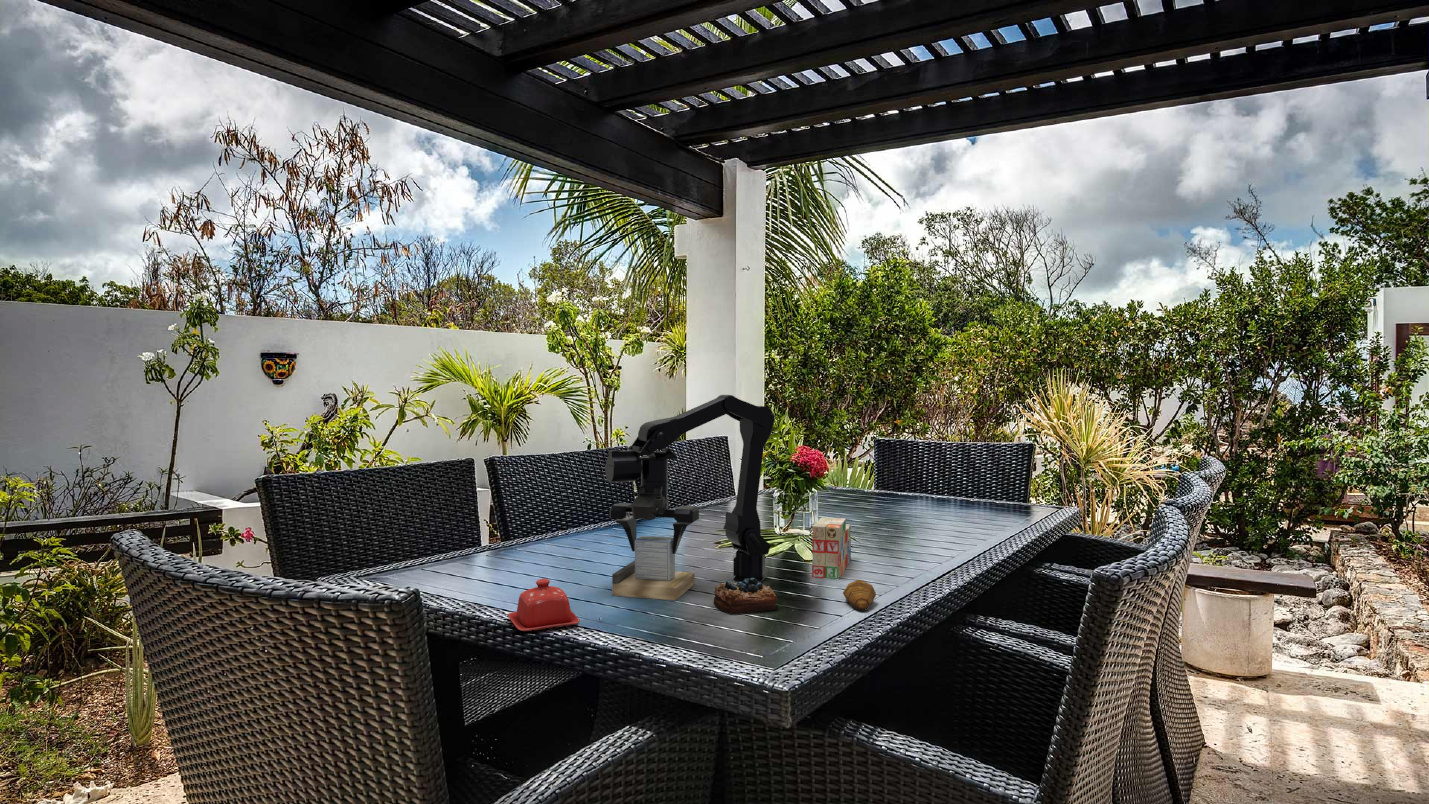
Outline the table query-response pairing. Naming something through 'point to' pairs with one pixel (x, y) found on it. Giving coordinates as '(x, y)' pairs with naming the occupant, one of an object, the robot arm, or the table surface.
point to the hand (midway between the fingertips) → (654, 552)
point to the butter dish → (543, 608)
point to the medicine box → (654, 558)
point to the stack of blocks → (830, 547)
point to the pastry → (744, 597)
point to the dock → (650, 584)
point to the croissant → (859, 594)
